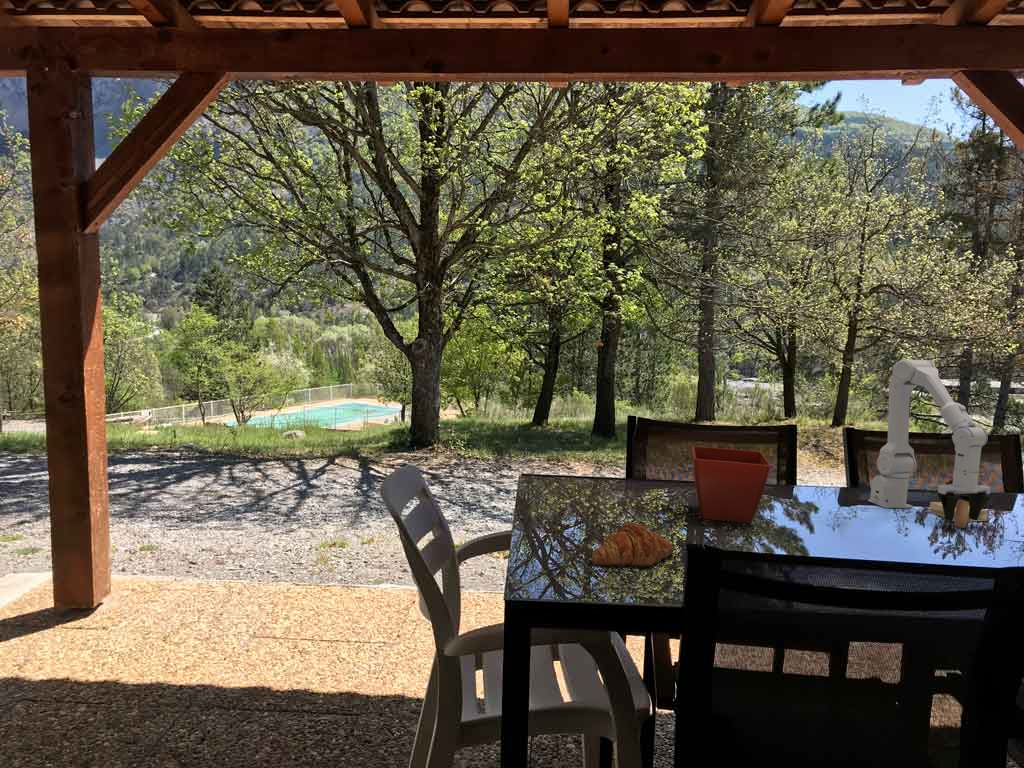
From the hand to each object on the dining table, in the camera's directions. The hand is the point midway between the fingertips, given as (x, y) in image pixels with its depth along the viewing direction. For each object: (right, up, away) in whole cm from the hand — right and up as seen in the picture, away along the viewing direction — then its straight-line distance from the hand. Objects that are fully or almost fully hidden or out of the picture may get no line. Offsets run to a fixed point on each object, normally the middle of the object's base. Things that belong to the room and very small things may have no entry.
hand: (960, 519), depth 204 cm
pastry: (-96, -2, -39) cm, 103 cm away
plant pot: (-64, +1, 0) cm, 64 cm away
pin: (0, -2, 0) cm, 2 cm away
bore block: (+5, -1, +10) cm, 12 cm away
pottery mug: (+21, 0, +34) cm, 39 cm away
